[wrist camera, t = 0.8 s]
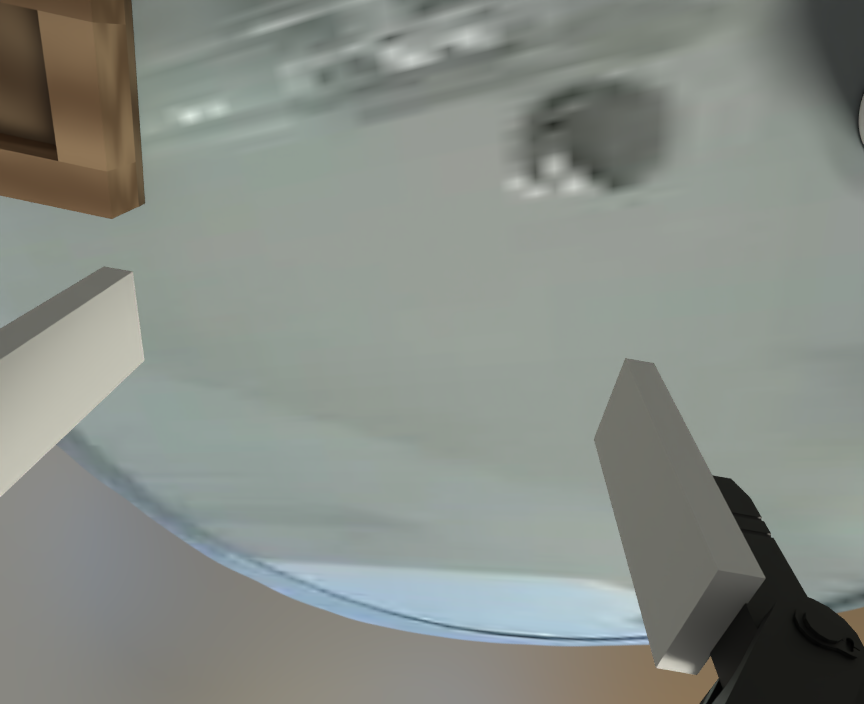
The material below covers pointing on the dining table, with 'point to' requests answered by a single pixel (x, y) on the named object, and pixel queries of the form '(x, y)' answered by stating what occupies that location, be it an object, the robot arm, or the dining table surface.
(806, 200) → the dining table surface
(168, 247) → the dining table surface
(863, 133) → the mug
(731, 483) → the robot arm
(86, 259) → the dining table surface
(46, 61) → the holder block
